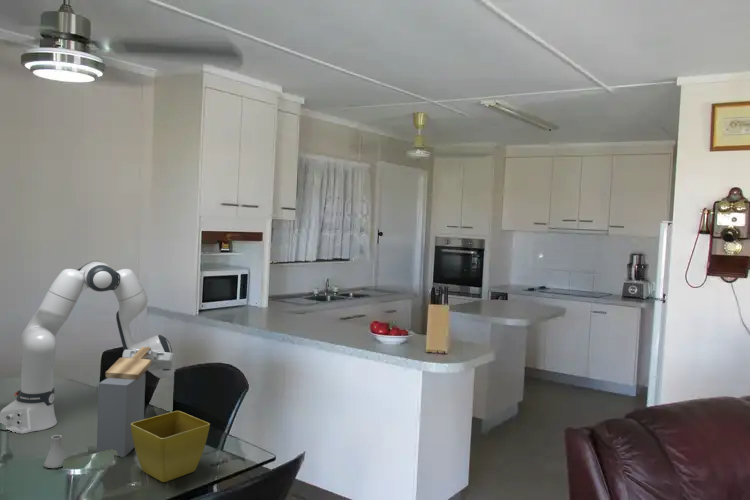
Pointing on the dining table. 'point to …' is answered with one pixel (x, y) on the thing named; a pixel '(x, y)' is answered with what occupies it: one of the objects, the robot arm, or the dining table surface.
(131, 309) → the robot arm
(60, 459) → the flask
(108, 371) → the oak paddle board
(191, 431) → the flower pot
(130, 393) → the grey post
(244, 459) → the dining table surface
